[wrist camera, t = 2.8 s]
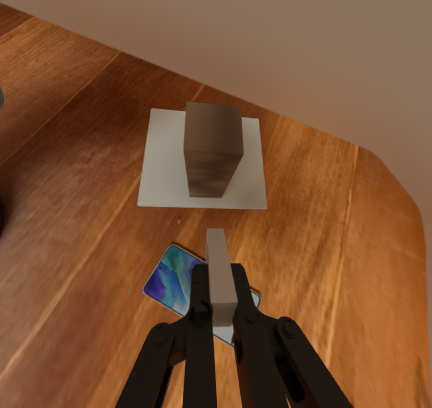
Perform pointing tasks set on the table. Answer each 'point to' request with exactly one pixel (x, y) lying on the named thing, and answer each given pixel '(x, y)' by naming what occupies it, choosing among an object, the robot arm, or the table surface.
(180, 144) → the mat
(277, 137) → the table surface
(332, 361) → the table surface
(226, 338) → the smartphone
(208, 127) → the walnut block
